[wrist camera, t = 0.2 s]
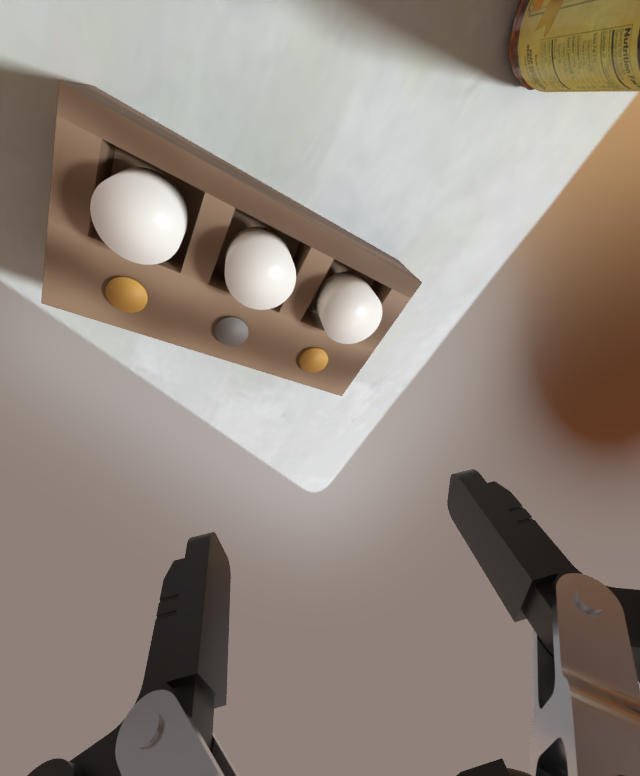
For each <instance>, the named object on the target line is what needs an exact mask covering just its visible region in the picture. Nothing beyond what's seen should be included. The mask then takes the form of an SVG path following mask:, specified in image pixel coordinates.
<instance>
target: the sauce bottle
mask: <svg viewBox="0 0 640 776" xmlns="http://www.w3.org/2000/svg"><path fill="white" fill-rule="evenodd" d="M509 59H510V63H511V67H512V71H513V72H514V74H515V76H516V78H517V79H518V80H519V82H520V83H521V85H522V86H524V87H525V88H527V89H529V90H533V89H536V90H538V91H542V92H592V91H640V0H521V2H520V4H519V6H518V9H517V12H516V15H515V17H514V22H513V29H512V32H511V37H510V43H509Z"/></svg>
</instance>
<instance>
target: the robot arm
mask: <svg viewBox="0 0 640 776" xmlns="http://www.w3.org/2000/svg"><path fill="white" fill-rule="evenodd" d="M448 509H449V513H450V515H451V518H452V520H453V521H454V523H455V524H456V526H457V528H458V530H459V531H460V533H461V535H462V536H463V538H464V539H465V541H466V543H467V544H468V546H469V548H470V549H471V551H472V553H473V554H474V556H475V558H476V559H477V561H478V563H479V564H480V566H481V567H482V569H483V571H484V572H485V574H486V576H487V577H488V579H489V581H490V582H491V584H492V586H493V587H494V589H495V590H496V592H497V594H498V595H499V597H500V599H501V600H502V602H503V603H504V605H505V607H506V609H507V610H508V612H509V614H510V615H511V617H512V618H513V620H514V621H515V622H517V621H520V620H523V619H528V621H529V622H530V624H531V625H532V627H533V629H534V630H533V667H534V668H533V673H534V713H533V719H532V724H531V730H530V774H528V773H525V772H522V771H518V770H514V769H510V768H506V766H505V764H504V761H503V759H499V760H496V761H493V762H490V763H487V764H484V765H481V766H478V767H475V768H472V769H469V770H466V771H463V772H460V773H459V774H458V775H457V776H640V689H639V684H638V681H639V683H640V590H633V589H622V588H613V587H608V586H605V585H603V584H602V583H601V582H599V581H598V580H596V579H594V578H592V577H589V576H587V575H583V574H582V573H581V572H579V571H578V570H577V569H576V568H575V567H574V566H573V565H572V564H571V563H570V561H568V559H567V558H566V557H565V556H564V554H563V553H562V552H561V551H560V550H559V548H558V547H557V546H556V545H555V544H554V543H553V541H552V540H551V539H550V538H549V537H548V535H547V534H546V533H545V532H544V531H543V530H542V529H541V527H540V526H539V525H538V524H537V522H536V521H535V520H533V519H532V517H531V515H530V514H529V513H528V512H527V511H526V510H525V509H523V507H522V505H521V504H520V503H519V501H518V500H517V499H516V498H515V497H514V495H513V494H512V493H511V492H510V491H508V490H507V489H505V488H504V487H502V486H501V485H499V484H498V483H496V482H490V483H487V482H486V481H485V480H484V478H482V476H481V475H480V474H479V472H477V471H476V470H474V469H472V470H467V471H463V472H459V473H456V474H452V475H451V478H450V486H449V494H448ZM229 607H230V565H229V561H228V557H227V555H226V553H225V552H224V549H223V547H222V545H221V544H220V542H219V539H218V537H217V536H216V534H215V533H214V532H212V533H208V534H204V535H200V536H196V537H192V538H190V539H189V540H188V543H187V548H186V555H185V558H184V559H179V560H175V561H174V562H173V564H172V565H171V567H170V569H169V571H168V573H167V575H166V576H165V578H164V581H163V586H162V591H161V596H160V603H159V606H158V611H157V619H156V621H155V626H154V631H153V636H152V641H151V646H150V651H149V656H148V661H147V666H146V671H145V677H144V681H143V685H142V689H141V692H140V694H139V697H138V699H137V701H136V703H135V705H134V706H133V707H132V709H131V710H130V711H129V713H128V714H127V716H126V718H125V719H124V720H123V721H122V723H121V724H120V725H119V726H118V727H117V728H116V729H114V730H113V731H112V732H111V733H109V734H108V735H107V736H105V737H104V738H102V739H101V740H99V741H98V742H97V743H95V744H94V745H92V746H91V747H89V748H88V749H87V750H85V751H84V752H82V753H81V754H79V755H78V756H77V757H75V758H74V759H72V760H71V761H66V760H63V759H52V760H49V761H47V762H45V763H43V764H41V765H40V766H38V767H37V768H36V769H34V770H33V771H32V772H31V773H30V774H29V775H28V776H239V775H238V773H237V771H236V769H235V768H234V766H233V764H232V763H231V761H230V759H229V758H228V756H227V754H226V753H225V751H224V749H223V748H222V746H221V744H220V743H219V741H218V739H217V738H216V736H215V734H214V732H213V731H212V730H213V713H214V708H217V707H221V706H224V705H226V694H227V664H228V634H229Z"/></svg>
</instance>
